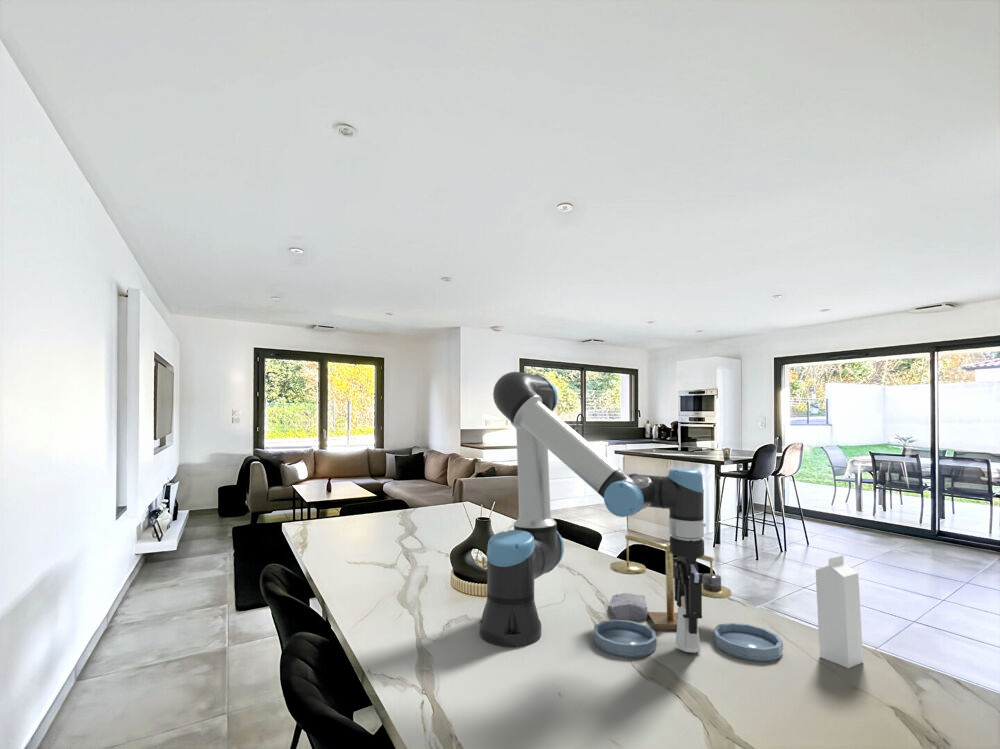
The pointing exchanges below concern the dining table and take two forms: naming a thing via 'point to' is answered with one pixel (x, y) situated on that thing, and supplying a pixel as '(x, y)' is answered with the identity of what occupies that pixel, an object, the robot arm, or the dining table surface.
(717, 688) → the dining table surface
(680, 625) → the salt shaker
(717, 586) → the balance
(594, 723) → the dining table surface
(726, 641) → the dish low side
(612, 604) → the stone block
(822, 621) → the milk
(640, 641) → the dish high side
